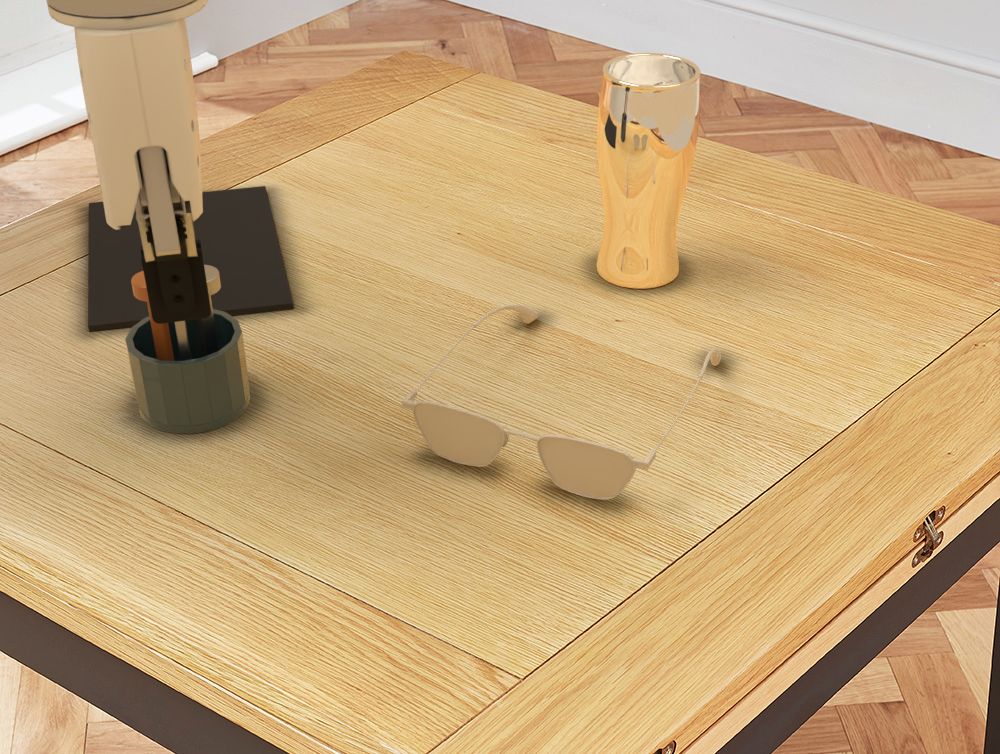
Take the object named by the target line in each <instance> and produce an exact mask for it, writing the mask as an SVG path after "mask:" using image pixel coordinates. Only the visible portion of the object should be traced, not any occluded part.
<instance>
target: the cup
mask: <svg viewBox="0 0 1000 754" xmlns="http://www.w3.org/2000/svg"><path fill="white" fill-rule="evenodd" d="M213 315H214V322H215V329H216V336H217V343H218V350H219V351H217V352H215V353H212V354H210V355H207V356H205V357H203V355H202V349H201V342H200V336H199V329H198V323H197V319H195V320H187V321H186V327H187V333H188V340H189V346H190V352H191V358H192V359H191V360H185V361H181V359H180V353H179V347H178V341H177V335H176V329H175V323H174V322H171V323H168V326H169V332H170V338H171V344H172V350H173V356H174V361H164V360H158V359H157V356H156V350H155V345H154V339H153V334H152V328H151V322H150V317H149V316H148V317H146V318H144V319H143V320H141V321H140V322H138V323H137V324H136V325H134V326H133V327H130V330H129V331H128V333H127V335H126V337H125V339H124V340H125V345H126V346H125V347H126V351H127V356H128V361H129V366H130V372H131V377H132V383H133V389H134V392H135V398H136V403H137V408H138V412H139V416H140V417H141V419H142V420H143V421H144V422H145V424H147V425H149V426H150V427H151V428H154V429H156V430H159V431H162V432H165V433H169V434H179V435H190V434H200V433H206V432H210V431H214V430H218V429H220V428H222V427H226V426H227V425H230V424H232V423H233V422H235V421H236V420H237V419H238V418H240V417H241V416H243V414H244V413H245V412H246V410H247V409H248V407H249V406H250V405H249V404H250V400H251V395H250V392H251V389H250V382H249V374H248V373H249V372H248V366H247V359H246V350H245V343H244V335H243V329H242V326H241V325H240V322H239V320H238V319H236V318H235V317H234V316H231V315H229V314H228V313H226V312H223V311H219V310H215V309H213Z"/></svg>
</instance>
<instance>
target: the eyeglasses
mask: <svg viewBox="0 0 1000 754" xmlns="http://www.w3.org/2000/svg"><path fill="white" fill-rule="evenodd" d="M505 310H507V311H512V312H516V313H518V314H519V316H520V318H521V320H522V321H523V323H524V324H531V323H533V322H534V321H536V320H537V319H538V318H539V316H540V313H538V312H537V311H536V310H535V309H532V308H531V307H528V306H526V305H522V304H505V305H501V306H498V307H496V308H493V309H491V310H490V311H489V312H487V313H486V314H484V315H483V316H481V317H480V318H479V319H478V320H477V321H476V322H474V323H472V326H471V327H470V328H469V329H468V331H466V332H465V333H464V335H462V336H461V337H460V338H459V339H458V341H457V342H456V343H455V344H454V345H453V346H452V347H451V348H450V349H449V350H448V351H447V352H446V353H445V354H444V356H443V357H442V358H441V359H440V360H439V361H438V363H437V364H436V365H435V366H434V367H433V369H432V370H431V371H430V372H429V374H428V375H426V377H425V378H424V379H423V381H422V382H421V383H420V385H419V386H418V387H417V388H416V389H411V390H410V391H409V392H408V394H407V395H406V396H405V397H404V398H403V399H402V400H401V408H403V409H406V410H409V411H412V417H413V420H414V422H415V424H416V426H417V428H418V430H419V432H420V434H421V436H422V437H423V439H424V441H425V443H426V444H427V445H428V447H429V449H430V450H431V451H432V452H433V453H435V454H436V455H437V456H439V457H441V458H443V459H445V460H448V461H450V462H453V463H456V464H459V465H464V466H470V467H476V468H477V467H480V468H482V467H487V466H489V465H490V464H491V463H492V462H493V461H495V459H496V458H497V456H498V455H499V453H500V452H501V450H502V448H506V446H507V444H508V441H509V439H510V436H509V435H512V436H518V437H522V438H525V439H527V440H531V441H533V442H536V449H537V454H538V456H539V460H540V461H541V464H542V466H543V468H544V470H545V472H546V474H547V475H548V477H549V478H550V480H551V481H552V483H553V484H554V485H555V486H556V487H558V488H560V489H561V490H564V491H566V492H569V493H571V494H574V495H577V496H580V497H583V498H587V499H592V500H600V501H601V500H602V501H604V500H605V501H606V500H612V499H614V498H616V497H617V496H619V494H621V493H622V492H623V491H624V489H626V487H627V486H628V484H629V483H630V482H631V480H632V479H633V477H634V475H635V474H636V470H637V469H639V470H645V471H648V470H649V469H650V468H651V466H652V464H653V462H654V461H655V459H656V457H657V451H658V449H659V448H660V446H661V445H662V444H663V442H664V440H665V439H666V437H667V436H668V434H670V432H671V431H672V429H673V427H674V426H675V424H676V423H677V421H678V420H679V419H680V417H681V415H682V414H683V412H684V410H685V408H686V407H687V405H688V403H689V401H690V400H691V398H692V396H693V395H694V393H695V391H696V389H697V387H698V386H699V384H700V381H701V380H702V379H703V377H704V374H705V372H706V370H707V367H708V364H709V362H710V363H711V364H712V366H714V367H717V366H718V365H719V364H720V362H721V359H722V353H721V352H720V350H719V349H718V348H716V347H713V348H711V349H710V350H709V351H708V353H707V354H706V356H705V358H704V361H703V363H702V364H703V365H702V367H701V369H700V373H699V375H698V377H697V380H696V383H695V385H694V386H693V388H692V391H691V392H690V394H689V396H688V397H687V399H686V401H685V402H684V404H683V406H682V408H681V410H680V411H679V412H678V414H677V416H676V418H675V419H674V420H673V422H672V423H671V425H669V426H670V427H669V428H668V429H667V431H666V432H665V433H664V435H663V436H662V438H661V439H660V441H659V442H658V444H657V445H656V447H655V448H653V449H652V448H651V449H650V451H649V452H648V454H647V455H646V458H645V459H644V458H638V457H633V456H631V454H630V453H628V452H627V451H624V450H622V449H619V448H616V447H614V446H610V445H607V444H604V443H600V442H597V441H593V440H588V439H583V438H579V437H573V436H569V435H562V434H555V433H554V434H550V433H547V434H544V435H542V436H540V437H539V436H536V435H533V434H531V433H529V432H526V431H523V430H517V429H506V428H505V429H504V427H503V426H502V425H501V424H500V423H499V422H497V421H496V420H494V419H492V418H490V417H488V416H485V415H482V414H480V413H476V412H474V411H471V410H467V409H463V408H460V407H457V406H453V405H449V404H445V403H441V402H436V401H430V400H419V401H415V400H416V399H417V395H418V392H419V390H420V389H421V388H422V387H423V386H424V384H425V383H426V382H427V381H428V379H429V378H430V377H431V375H432V374H433V373H434V372H435V371H436V369H437V368H439V366H440V364H442V362H443V361H444V360H445V359H446V358H447V357H448V356H449V354H451V352H452V351H453V350H454V349H455V348H456V347H457V346H458V345H459V344H460V343H461V342H462V341H463V339H465V338H466V336H468V334H469V333H470V332H472V330H474V329H475V328H477V327H478V326H479V325H480V324H481V323H482V322H483V321H485V320H486V319H487V318H489V317H491V316H492V315H494V314H496V313H498V312H500V311H505Z"/></svg>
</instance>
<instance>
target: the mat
mask: <svg viewBox="0 0 1000 754" xmlns="http://www.w3.org/2000/svg"><path fill="white" fill-rule="evenodd" d="M202 200H203V213H202V214H201V215H200V216H199V218H197V219H196V220H195V221H193V226H194V233H195V240H200V242H201V249H202V255H203V261H204V265H210V266H213V267H215V268H217V269H218V271H219V276H220V283H221V288H220V290H219V291H218V292H217V293H215V294H213V295H211V302H212V309H215V310H219V311H223V312H226V313H228V314H229V315H231V316H232V317H234V316H241V315H250V314H261V313H267V312H277V311H283V310H284V311H285V310H287V311H288V310H294V307H295V306H294V300H293V296H292V291H291V288H290V284H289V281H288V280H289V279H288V275H287V271H286V267H285V262H284V259H283V255H282V251H281V247H280V242H279V238H278V233H277V228H276V225H275V221H274V215H273V213H272V208H271V204H270V199H269V195H268V191H267V187H266V186H265V185H261V186H251V187H242V188H241V187H240V188H230V189H222V190H221V189H220V190H209V191H202ZM192 220H193V218H192ZM140 246H142V241H141V236H140V231H139V225H138V221H137V219H136V210H135V211H134V215H133V219H132V222H131V225H123V226H121V228H120V230H115V229H113V228H112V227H111V226H109V225H108V224H107V222H106V216H105V210H104V204H103V201H96V202H89V203H88V261H87V262H88V266H87V267H88V269H87V270H88V271H87V273H88V274H87V276H88V278H87V286H88V287H87V294H88V295H87V329H88V332H90V333H91V332H101V331H109V330H119V329H127V328H132V327H133V326H134V325H136V324H137V323H138V322H140V321H141V320H143V319H144V318H146V317H148V316H149V311H148V305H147V302H145V301H141V300H138V299H137V298H135V296H134V294H133V289H132V283H131V279H132V277H133V276H134V275H135V274H137V273H139V272H141V271H143V266H142V261H141V247H140Z"/></svg>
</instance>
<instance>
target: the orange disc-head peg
mask: <svg viewBox="0 0 1000 754" xmlns="http://www.w3.org/2000/svg"><path fill="white" fill-rule="evenodd" d="M131 283H132V289H133V294H134V296H135V298H137V299H138V300H141V301H145V302H147V305H148V311H149V317H150V322H151V328H152V334H153V339H154V345H155V350H156V356H157V359H158V360H164V361H174V356H173V350H172V344H171V338H170V332H169V326H168V323H162V324H158V323H155V322H154V321H153V319H152V314H151V309H150V304H149V298H148V293H147V287H146V282H145V277H144V271H141V272H139V273H137V274H135V275H134V276H133V277H132V279H131Z"/></svg>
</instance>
